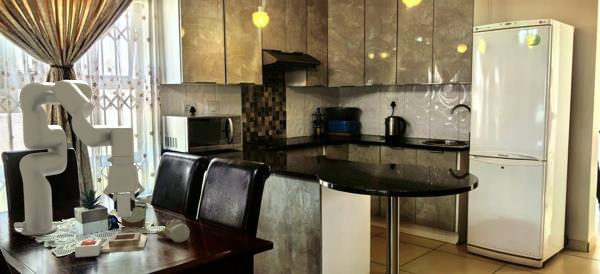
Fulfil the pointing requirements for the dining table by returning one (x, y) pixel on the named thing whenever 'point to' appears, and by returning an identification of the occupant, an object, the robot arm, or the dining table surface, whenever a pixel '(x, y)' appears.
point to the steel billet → (124, 204)
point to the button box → (88, 249)
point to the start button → (88, 242)
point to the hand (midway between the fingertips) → (124, 210)
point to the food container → (136, 216)
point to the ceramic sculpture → (175, 231)
